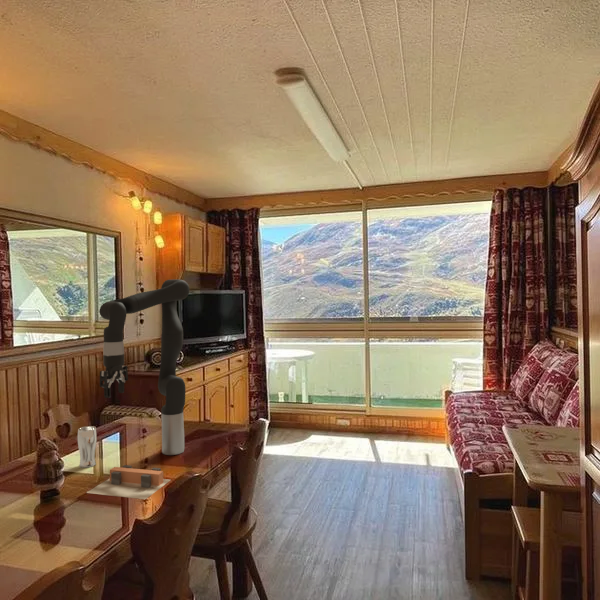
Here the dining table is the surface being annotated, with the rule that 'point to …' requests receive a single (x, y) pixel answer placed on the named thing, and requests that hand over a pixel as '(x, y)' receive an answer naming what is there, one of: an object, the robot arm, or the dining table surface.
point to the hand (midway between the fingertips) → (114, 395)
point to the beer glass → (87, 446)
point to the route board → (128, 486)
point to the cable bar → (138, 475)
